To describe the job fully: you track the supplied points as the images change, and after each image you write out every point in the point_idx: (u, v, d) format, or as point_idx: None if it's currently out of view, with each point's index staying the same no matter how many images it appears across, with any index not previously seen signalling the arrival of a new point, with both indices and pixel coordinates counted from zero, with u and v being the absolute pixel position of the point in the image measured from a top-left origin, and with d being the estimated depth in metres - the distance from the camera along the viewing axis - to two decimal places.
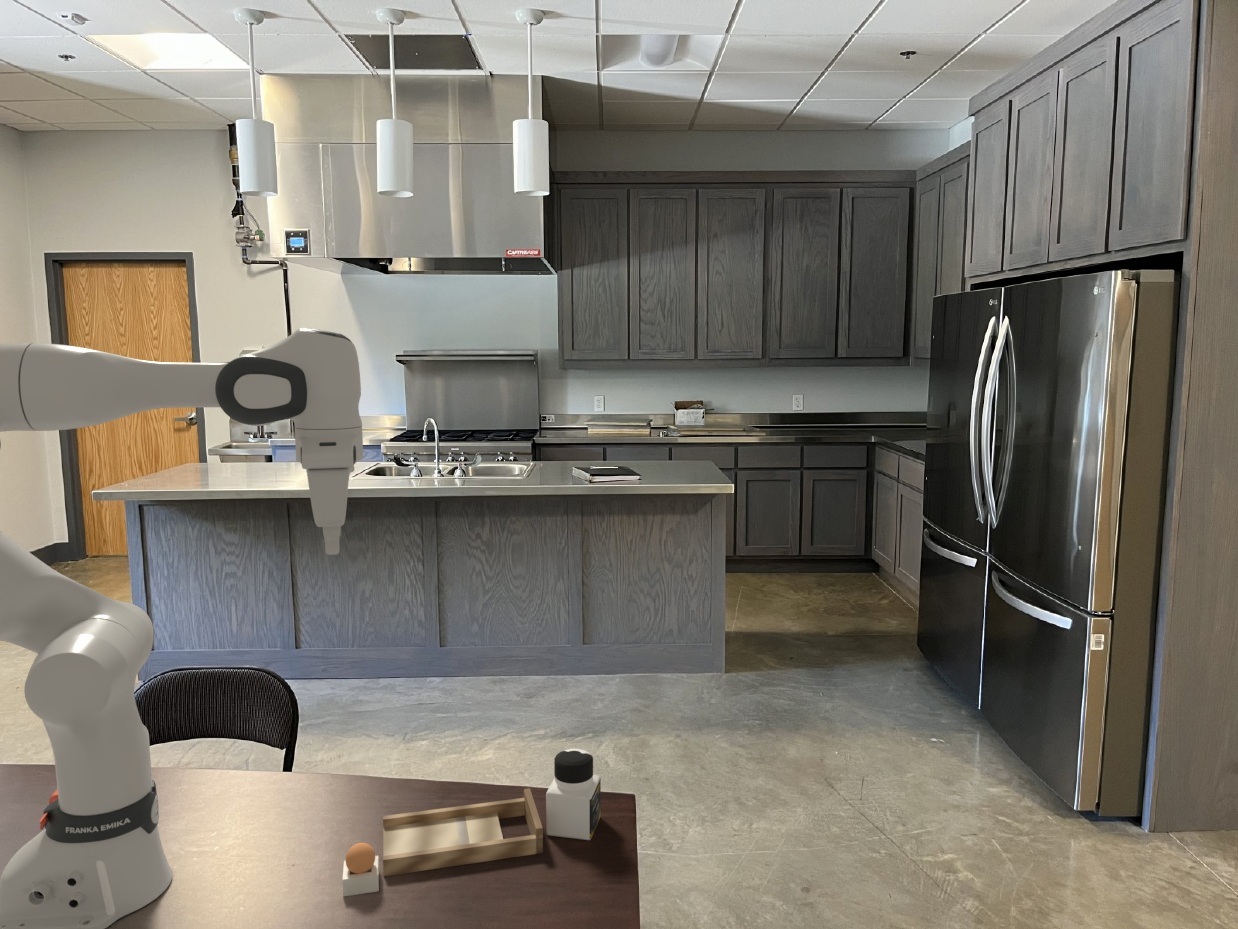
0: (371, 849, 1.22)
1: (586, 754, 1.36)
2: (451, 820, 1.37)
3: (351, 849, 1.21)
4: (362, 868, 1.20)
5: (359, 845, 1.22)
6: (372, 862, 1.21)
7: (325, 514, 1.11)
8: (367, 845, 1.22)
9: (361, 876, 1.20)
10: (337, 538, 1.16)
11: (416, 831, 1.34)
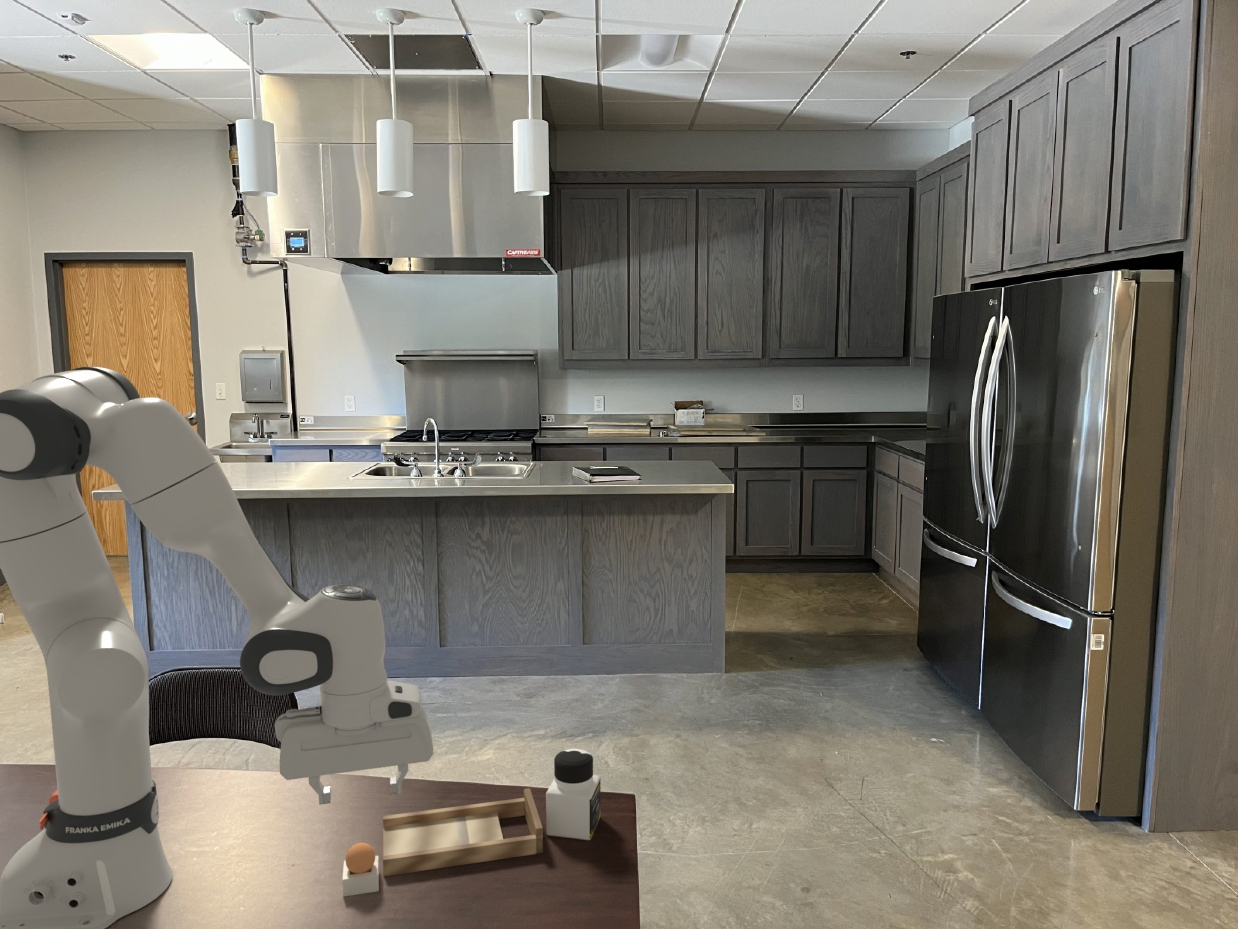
0: (371, 849, 1.22)
1: (586, 754, 1.36)
2: (451, 820, 1.37)
3: (351, 849, 1.21)
4: (362, 868, 1.20)
5: (359, 845, 1.22)
6: (372, 862, 1.21)
7: None
8: (367, 845, 1.22)
9: (361, 876, 1.20)
10: None
11: (416, 831, 1.34)
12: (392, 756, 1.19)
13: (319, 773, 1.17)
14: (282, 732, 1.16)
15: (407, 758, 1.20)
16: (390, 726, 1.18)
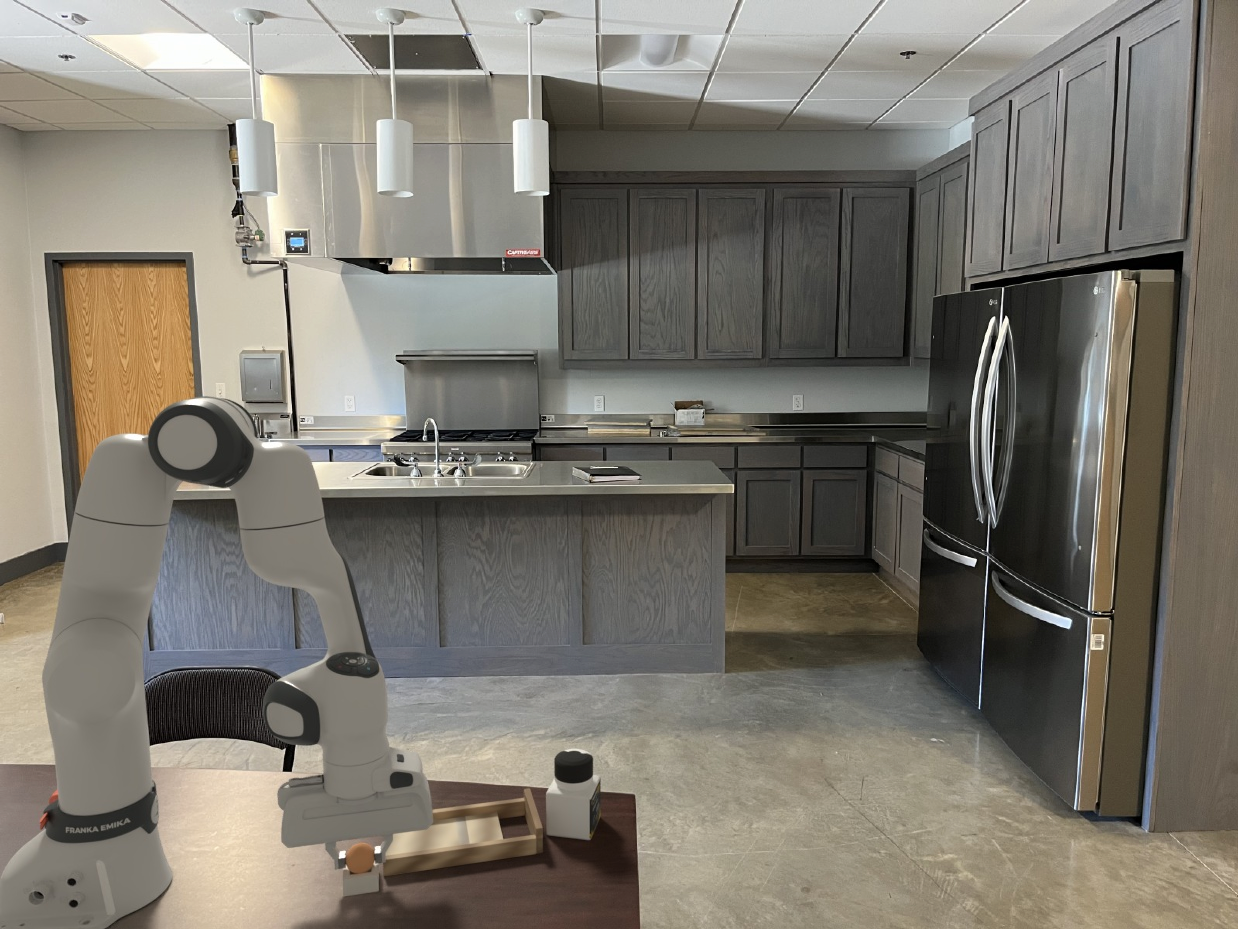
0: (371, 849, 1.22)
1: (586, 754, 1.36)
2: (451, 820, 1.37)
3: (351, 849, 1.21)
4: (362, 868, 1.20)
5: (359, 845, 1.22)
6: (372, 862, 1.21)
7: None
8: (367, 845, 1.22)
9: (361, 876, 1.20)
10: None
11: (416, 831, 1.34)
12: (392, 824, 1.21)
13: (320, 841, 1.18)
14: (284, 800, 1.18)
15: (407, 826, 1.21)
16: (391, 795, 1.19)
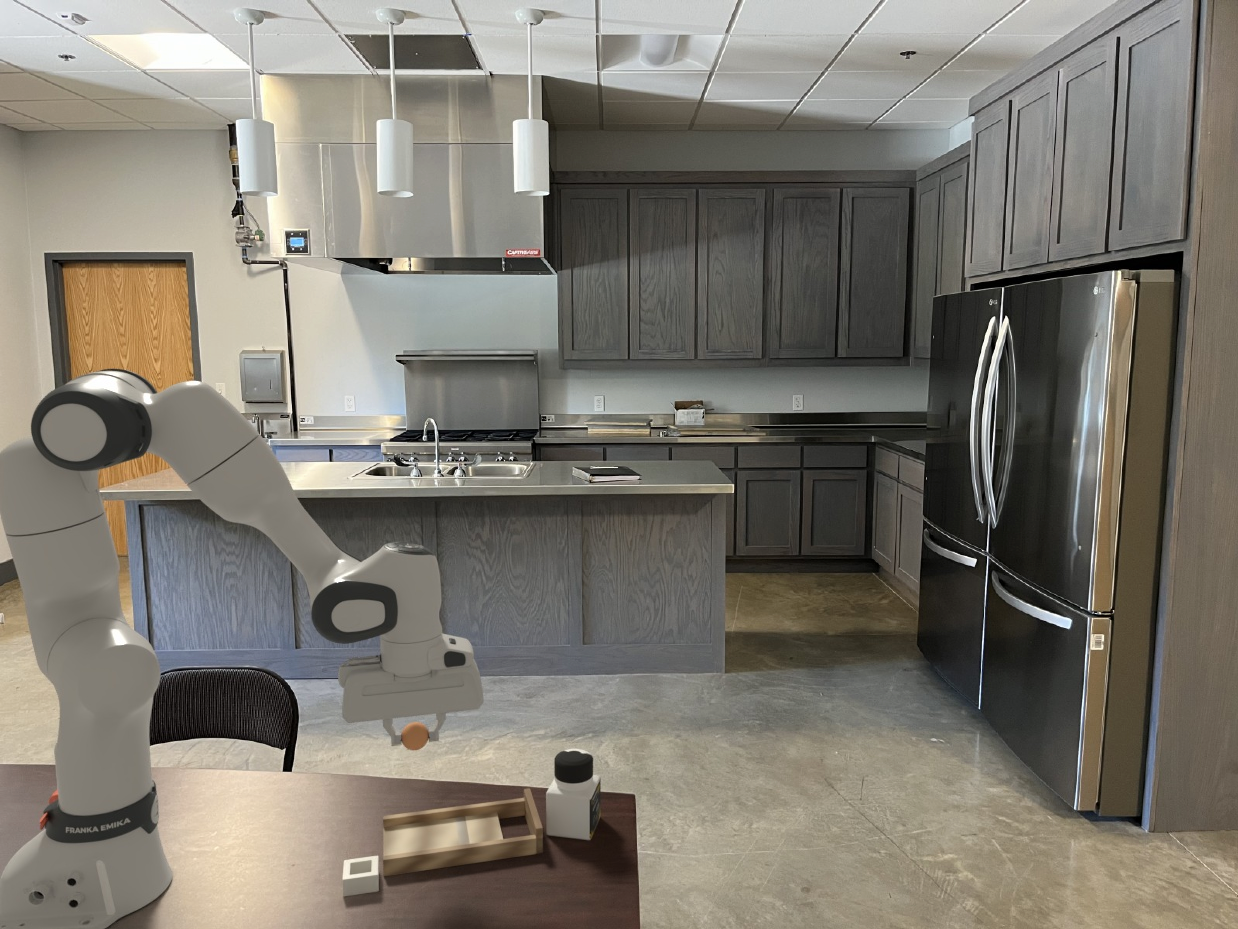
0: (425, 727, 1.29)
1: (586, 754, 1.36)
2: (451, 820, 1.37)
3: (406, 727, 1.28)
4: (417, 744, 1.27)
5: (414, 724, 1.28)
6: (426, 739, 1.28)
7: None
8: (421, 724, 1.29)
9: (361, 876, 1.20)
10: None
11: (416, 831, 1.34)
12: (446, 703, 1.27)
13: (378, 717, 1.25)
14: (344, 678, 1.25)
15: (459, 706, 1.28)
16: (445, 675, 1.26)
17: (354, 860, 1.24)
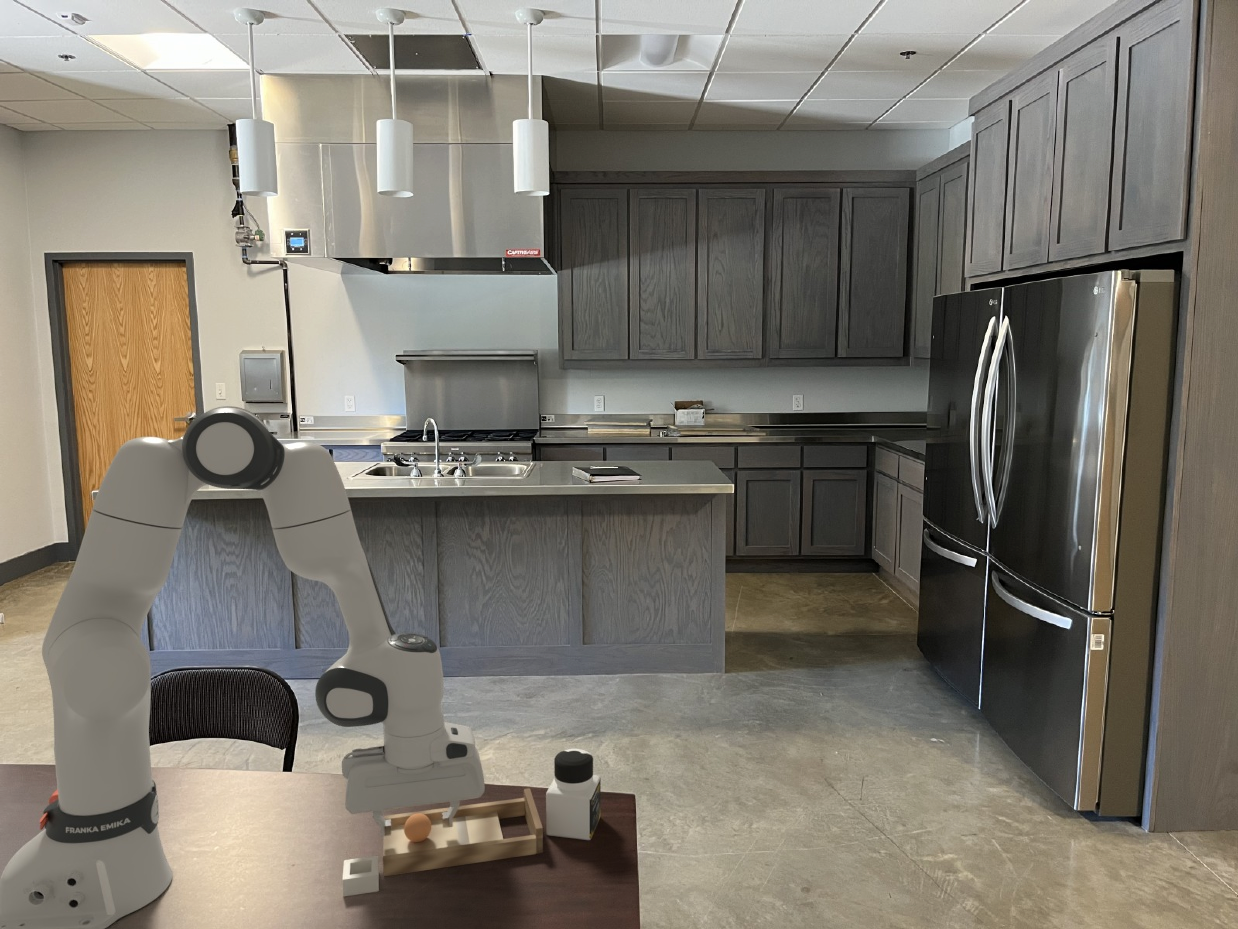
0: (428, 820, 1.31)
1: (586, 754, 1.36)
2: None
3: (410, 819, 1.30)
4: (420, 837, 1.29)
5: (418, 816, 1.30)
6: (429, 832, 1.30)
7: None
8: (424, 816, 1.31)
9: (361, 876, 1.20)
10: None
11: None
12: (447, 793, 1.29)
13: (381, 808, 1.27)
14: (348, 770, 1.27)
15: (461, 795, 1.30)
16: (447, 765, 1.28)
17: (354, 860, 1.24)
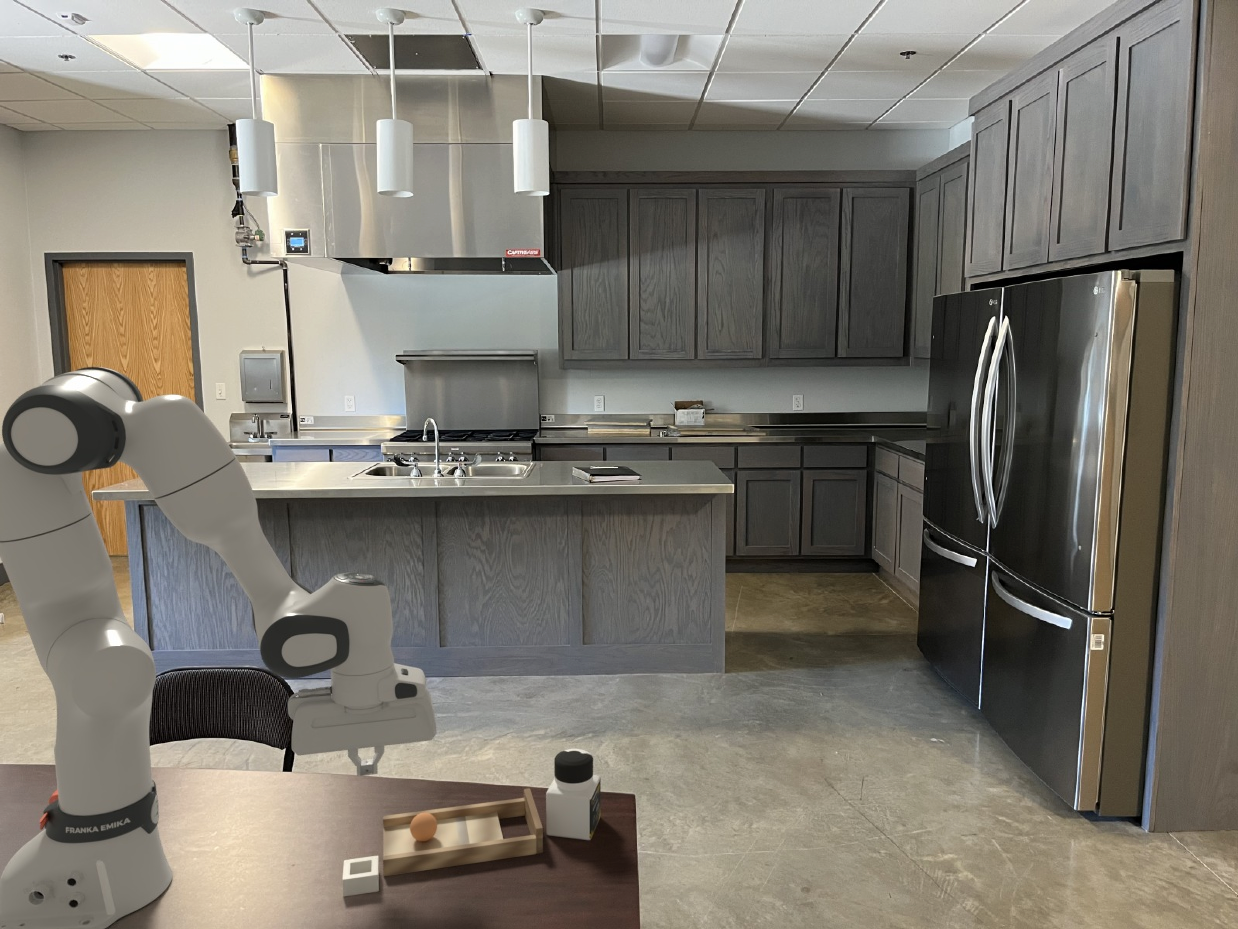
0: (436, 823, 1.31)
1: (586, 754, 1.36)
2: (451, 820, 1.37)
3: (421, 815, 1.31)
4: (424, 836, 1.29)
5: (429, 816, 1.31)
6: (433, 835, 1.31)
7: None
8: None
9: (361, 876, 1.20)
10: None
11: None
12: (397, 735, 1.26)
13: (328, 749, 1.24)
14: (294, 710, 1.23)
15: (412, 737, 1.27)
16: (396, 706, 1.25)
17: (354, 860, 1.24)
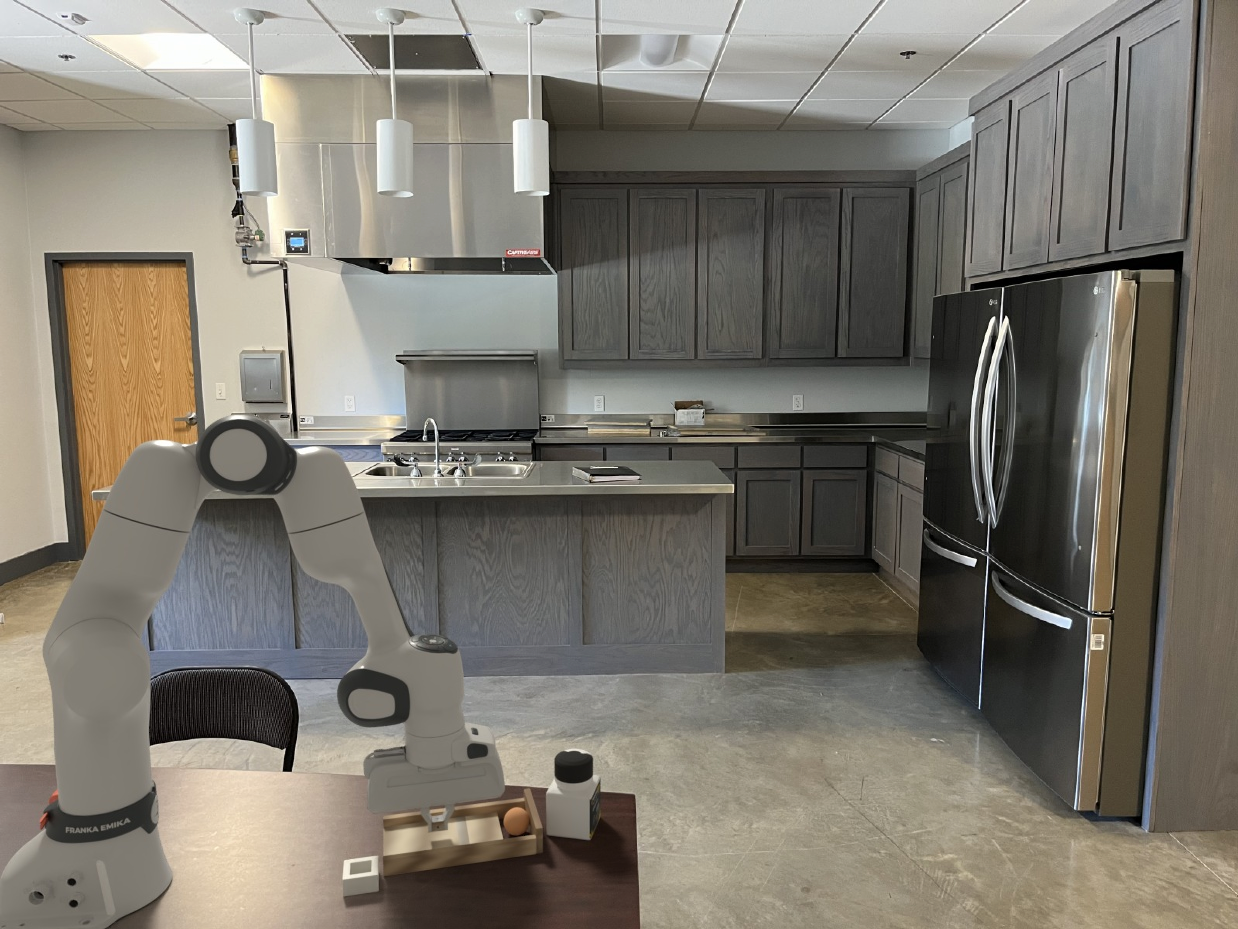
0: None
1: (586, 754, 1.36)
2: (451, 820, 1.37)
3: (528, 815, 1.35)
4: (515, 830, 1.33)
5: (529, 822, 1.35)
6: None
7: None
8: None
9: (361, 876, 1.20)
10: None
11: (416, 831, 1.34)
12: (468, 793, 1.30)
13: (402, 808, 1.28)
14: (370, 770, 1.27)
15: (481, 794, 1.31)
16: (467, 765, 1.29)
17: (354, 860, 1.24)
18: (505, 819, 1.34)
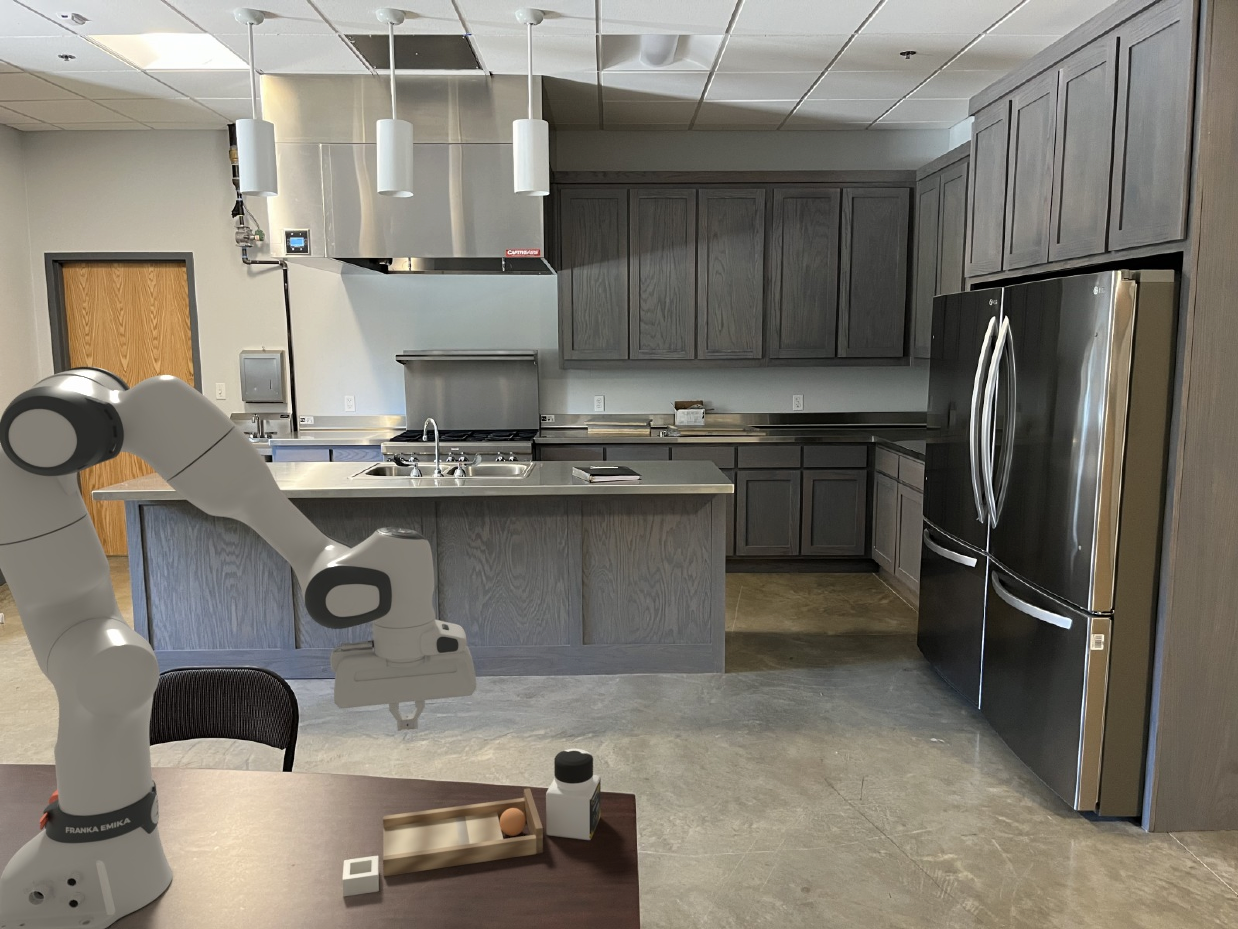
0: None
1: (586, 754, 1.36)
2: (451, 820, 1.37)
3: (521, 813, 1.35)
4: (512, 831, 1.33)
5: None
6: (514, 835, 1.34)
7: None
8: None
9: (361, 876, 1.20)
10: None
11: (416, 831, 1.34)
12: (438, 689, 1.27)
13: (370, 703, 1.25)
14: (337, 663, 1.24)
15: (452, 692, 1.28)
16: (437, 660, 1.26)
17: (354, 860, 1.24)
18: (500, 823, 1.34)
